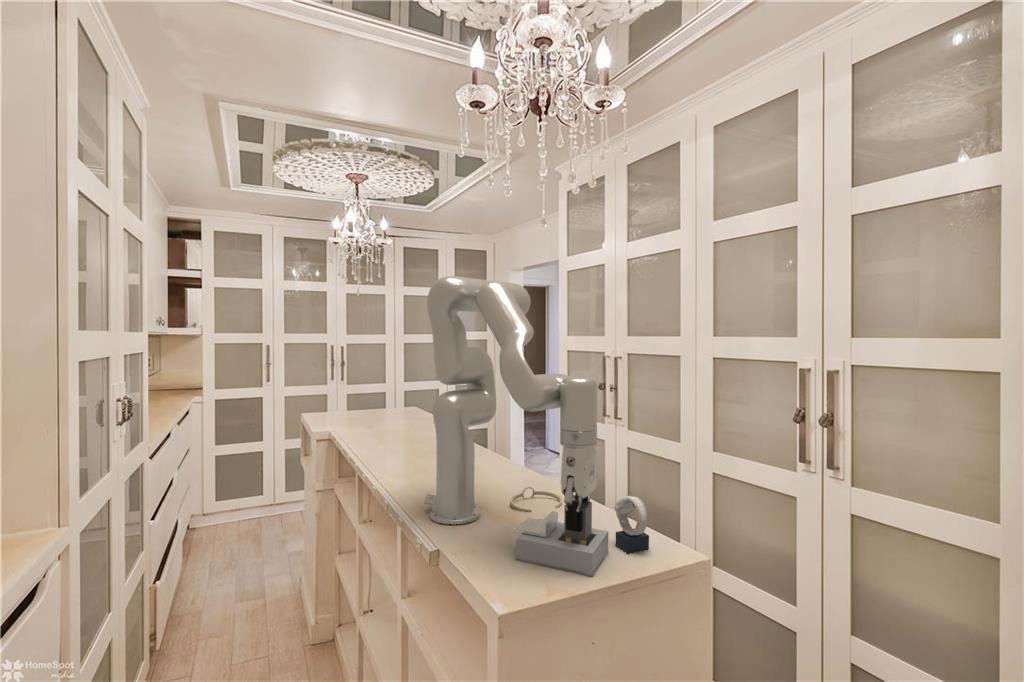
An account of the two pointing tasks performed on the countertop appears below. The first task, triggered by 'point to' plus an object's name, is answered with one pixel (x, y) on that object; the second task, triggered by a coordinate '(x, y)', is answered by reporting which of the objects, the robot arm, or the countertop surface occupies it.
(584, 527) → the plug
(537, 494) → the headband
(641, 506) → the watch
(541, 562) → the socket box
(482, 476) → the countertop surface
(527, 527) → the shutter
